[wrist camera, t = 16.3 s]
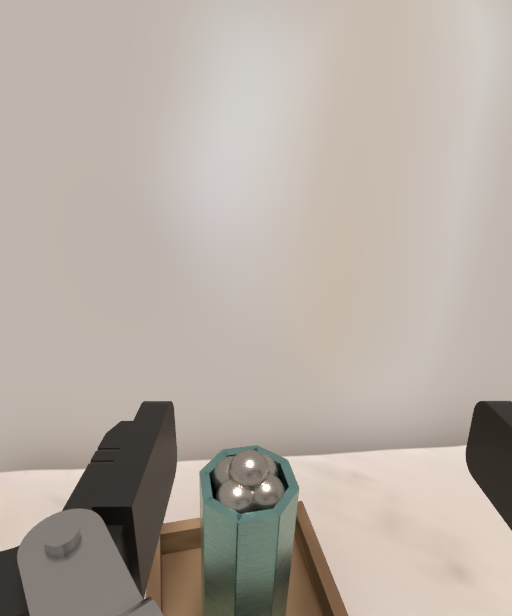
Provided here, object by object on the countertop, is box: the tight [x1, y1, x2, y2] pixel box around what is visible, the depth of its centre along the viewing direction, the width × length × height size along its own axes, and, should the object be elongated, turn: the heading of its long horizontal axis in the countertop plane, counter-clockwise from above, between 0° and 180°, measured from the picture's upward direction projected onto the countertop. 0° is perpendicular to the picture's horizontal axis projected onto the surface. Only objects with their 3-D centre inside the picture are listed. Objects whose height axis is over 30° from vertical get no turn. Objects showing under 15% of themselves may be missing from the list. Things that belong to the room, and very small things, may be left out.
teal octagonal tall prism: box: [199, 446, 299, 616], centre depth 28 cm, size 6×6×16 cm
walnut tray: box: [146, 501, 348, 616], centre depth 30 cm, size 14×14×4 cm
